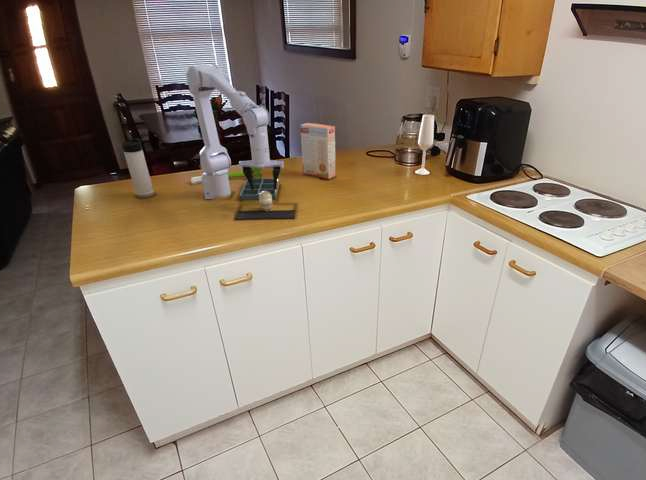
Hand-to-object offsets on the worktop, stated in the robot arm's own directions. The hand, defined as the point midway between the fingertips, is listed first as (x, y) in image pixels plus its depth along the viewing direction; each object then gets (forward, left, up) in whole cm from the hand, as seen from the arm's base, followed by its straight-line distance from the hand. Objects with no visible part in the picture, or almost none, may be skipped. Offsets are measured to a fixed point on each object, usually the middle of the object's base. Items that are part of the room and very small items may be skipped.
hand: (264, 189), depth 140 cm
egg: (0, 0, -8) cm, 8 cm away
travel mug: (-48, +19, -8) cm, 52 cm away
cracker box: (+19, +41, -8) cm, 46 cm away
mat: (0, 0, -8) cm, 8 cm away
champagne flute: (+66, +44, -8) cm, 80 cm away
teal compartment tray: (-4, +19, -8) cm, 21 cm away
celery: (-19, +34, -8) cm, 40 cm away
